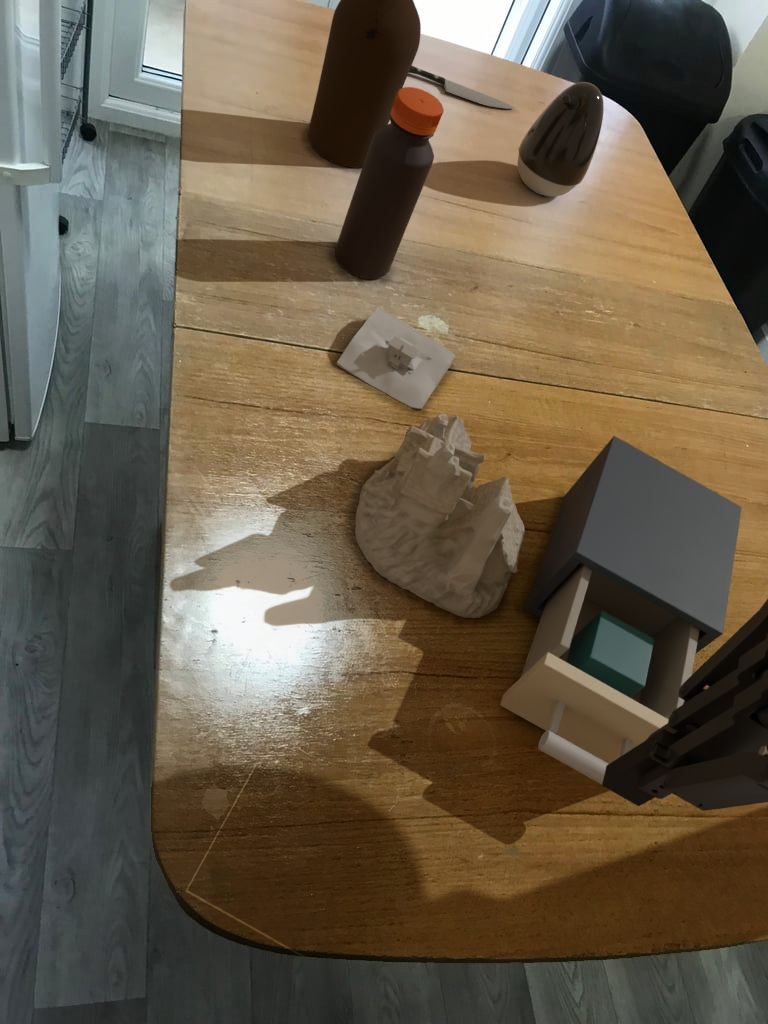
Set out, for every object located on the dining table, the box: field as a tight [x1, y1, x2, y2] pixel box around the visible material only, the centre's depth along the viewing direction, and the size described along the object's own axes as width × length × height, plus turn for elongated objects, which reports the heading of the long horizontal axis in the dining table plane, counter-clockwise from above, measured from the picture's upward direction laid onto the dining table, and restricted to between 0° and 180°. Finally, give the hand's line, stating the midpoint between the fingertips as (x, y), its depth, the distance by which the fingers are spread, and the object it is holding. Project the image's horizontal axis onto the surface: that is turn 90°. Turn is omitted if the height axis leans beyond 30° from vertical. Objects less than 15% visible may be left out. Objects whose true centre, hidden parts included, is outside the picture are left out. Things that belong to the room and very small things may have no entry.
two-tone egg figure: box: [517, 81, 604, 198], centre depth 116 cm, size 10×10×15 cm
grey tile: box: [336, 306, 457, 411], centre depth 88 cm, size 12×11×4 cm
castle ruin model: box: [354, 413, 526, 619], centre depth 73 cm, size 16×16×15 cm
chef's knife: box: [408, 65, 516, 110], centre depth 130 cm, size 19×1×3 cm
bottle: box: [334, 86, 444, 280], centre depth 91 cm, size 7×7×20 cm
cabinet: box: [523, 435, 743, 655], centre depth 78 cm, size 16×14×10 cm
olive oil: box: [307, 0, 422, 169], centre depth 102 cm, size 11×11×25 cm
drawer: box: [499, 563, 700, 786], centre depth 69 cm, size 19×13×8 cm, turn 157°
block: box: [567, 611, 654, 698], centre depth 70 cm, size 5×5×5 cm
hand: (622, 785), depth 54 cm, fingers closed
